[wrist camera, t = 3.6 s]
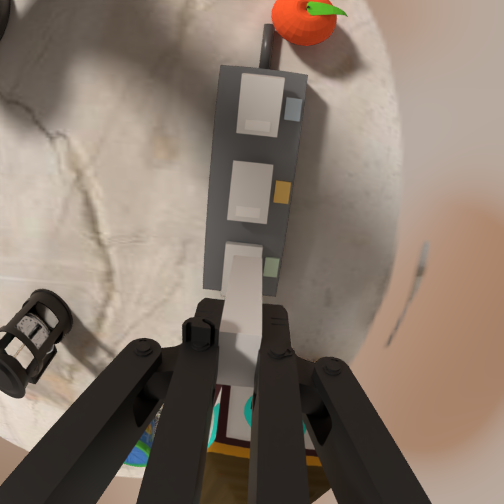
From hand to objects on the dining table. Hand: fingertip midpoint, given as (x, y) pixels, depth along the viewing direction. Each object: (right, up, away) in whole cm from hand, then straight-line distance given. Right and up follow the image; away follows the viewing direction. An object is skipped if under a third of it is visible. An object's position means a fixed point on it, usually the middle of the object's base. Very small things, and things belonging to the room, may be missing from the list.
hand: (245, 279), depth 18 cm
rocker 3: (-1, -1, +19) cm, 19 cm away
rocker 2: (0, +8, +15) cm, 17 cm away
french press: (-34, -9, +30) cm, 47 cm away
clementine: (+6, +28, +13) cm, 31 cm away
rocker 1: (+1, +16, +12) cm, 20 cm away
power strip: (+1, +13, +20) cm, 23 cm away
